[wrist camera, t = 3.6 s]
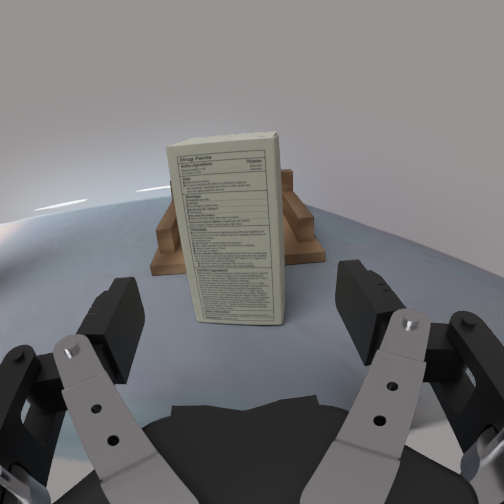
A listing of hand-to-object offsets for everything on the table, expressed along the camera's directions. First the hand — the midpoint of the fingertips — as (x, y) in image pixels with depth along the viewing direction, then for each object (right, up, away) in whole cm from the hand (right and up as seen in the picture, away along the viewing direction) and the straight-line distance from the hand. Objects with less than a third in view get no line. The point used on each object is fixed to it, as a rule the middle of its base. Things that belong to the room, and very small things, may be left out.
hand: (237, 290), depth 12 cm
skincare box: (0, -3, +11) cm, 11 cm away
